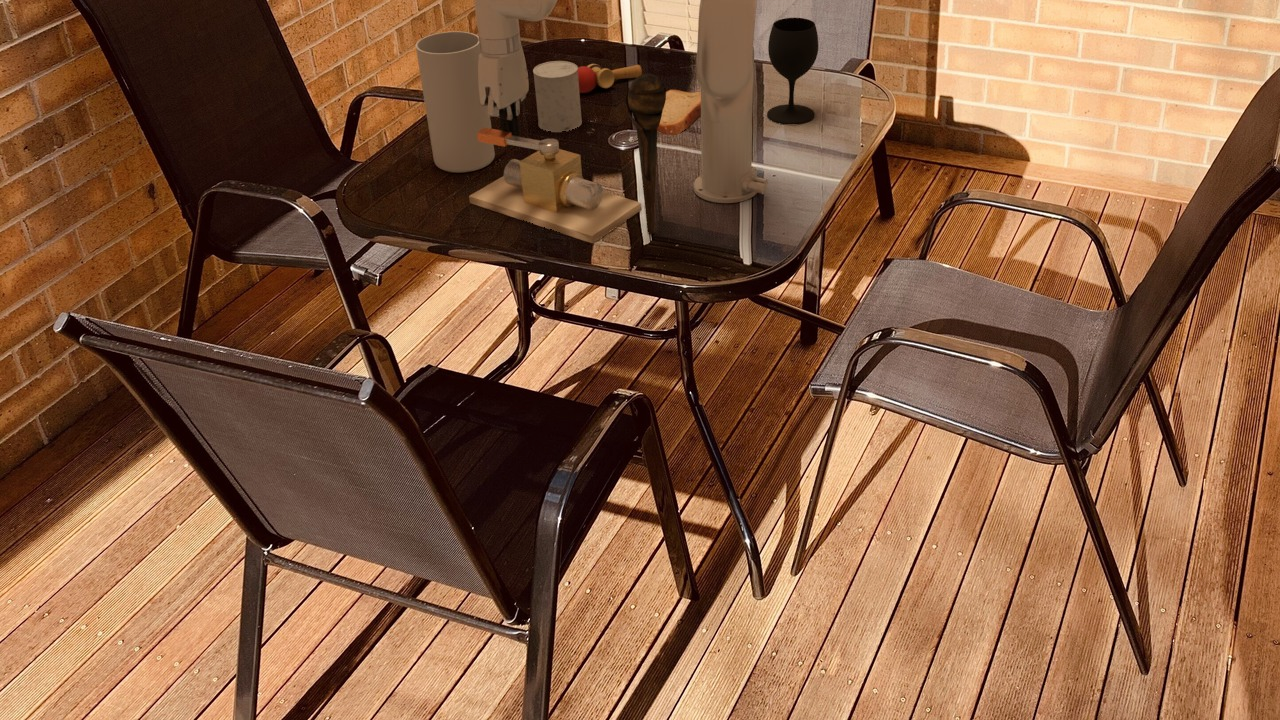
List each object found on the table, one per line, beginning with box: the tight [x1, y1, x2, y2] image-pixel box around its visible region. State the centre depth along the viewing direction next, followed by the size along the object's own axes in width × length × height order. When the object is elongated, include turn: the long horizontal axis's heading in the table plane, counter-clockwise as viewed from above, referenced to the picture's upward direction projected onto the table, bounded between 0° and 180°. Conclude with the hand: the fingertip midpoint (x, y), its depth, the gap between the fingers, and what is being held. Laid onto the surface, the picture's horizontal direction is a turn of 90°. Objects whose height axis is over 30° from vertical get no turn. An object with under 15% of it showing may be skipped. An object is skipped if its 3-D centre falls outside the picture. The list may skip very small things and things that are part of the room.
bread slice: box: [657, 89, 701, 136], centre depth 249 cm, size 18×18×4 cm
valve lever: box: [477, 128, 560, 156], centre depth 212 cm, size 17×4×2 cm, turn 62°
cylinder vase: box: [415, 30, 496, 174], centre depth 227 cm, size 12×12×25 cm
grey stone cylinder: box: [532, 60, 583, 133], centre depth 245 cm, size 10×10×12 cm
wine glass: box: [766, 17, 819, 125], centre depth 241 cm, size 10×10×20 cm
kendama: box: [577, 63, 643, 94], centre depth 264 cm, size 8×6×18 cm
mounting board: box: [468, 175, 642, 244], centre depth 216 cm, size 30×15×2 cm, turn 54°
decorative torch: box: [625, 72, 667, 235], centre depth 197 cm, size 7×7×30 cm
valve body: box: [503, 148, 604, 213], centre depth 213 cm, size 20×8×10 cm, turn 54°
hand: (511, 136), depth 218 cm, fingers closed
